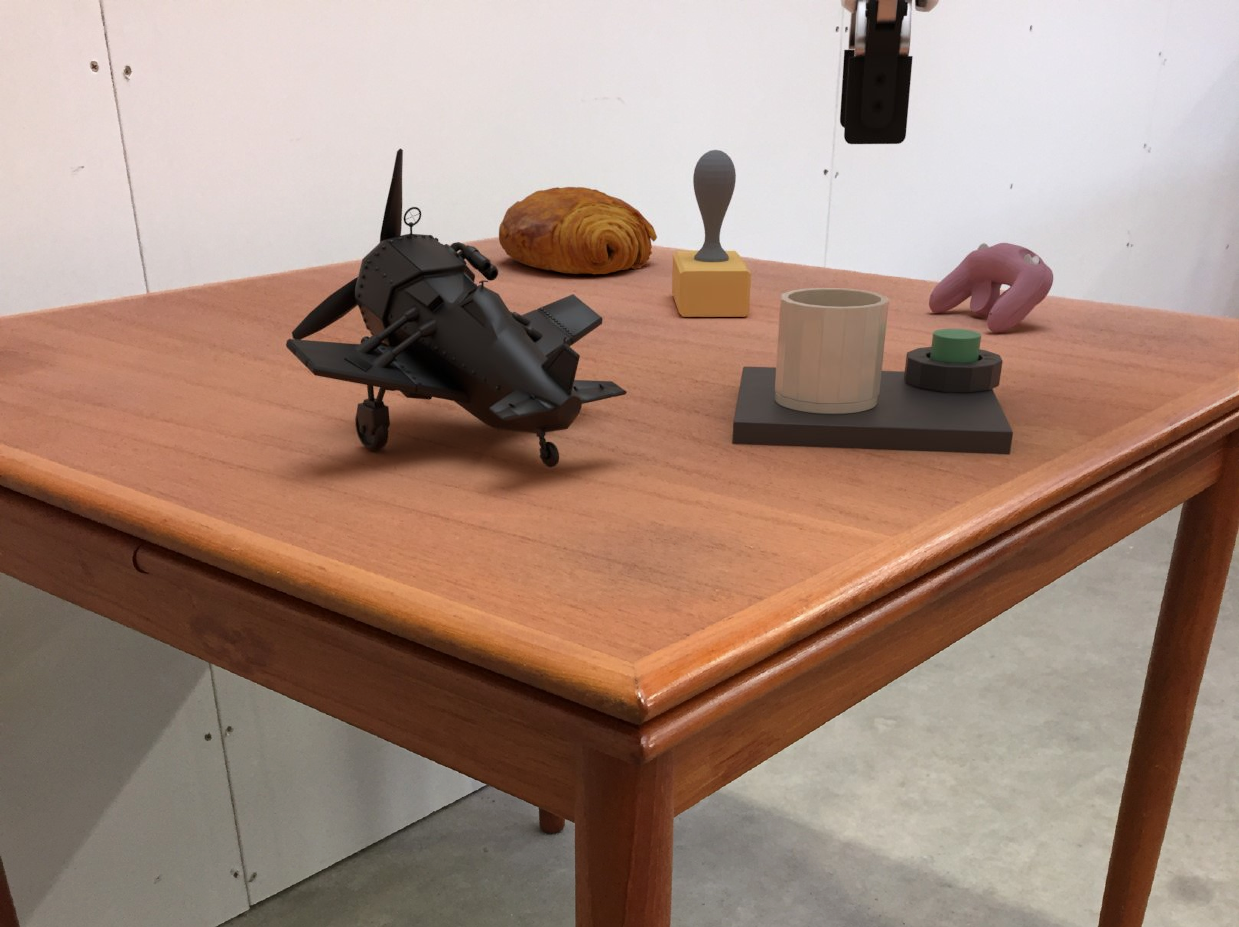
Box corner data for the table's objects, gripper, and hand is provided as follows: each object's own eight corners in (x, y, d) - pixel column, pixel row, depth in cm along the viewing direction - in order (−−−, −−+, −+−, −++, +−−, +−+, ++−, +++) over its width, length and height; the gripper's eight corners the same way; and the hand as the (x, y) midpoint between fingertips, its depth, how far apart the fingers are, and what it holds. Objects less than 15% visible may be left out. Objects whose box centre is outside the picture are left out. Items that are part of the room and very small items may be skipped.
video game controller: (1028, 351, 107) (1074, 265, 105) (988, 328, 105) (1035, 240, 102) (957, 327, 115) (999, 247, 113) (919, 305, 112) (961, 222, 110)
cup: (875, 389, 85) (885, 289, 81) (879, 416, 79) (891, 309, 76) (775, 386, 85) (781, 286, 82) (773, 412, 80) (779, 306, 77)
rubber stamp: (749, 317, 111) (757, 155, 104) (679, 317, 110) (683, 155, 104) (736, 295, 119) (743, 144, 113) (671, 295, 119) (675, 144, 113)
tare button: (974, 357, 87) (978, 329, 86) (979, 368, 84) (983, 339, 84) (927, 356, 87) (931, 327, 86) (931, 366, 85) (935, 337, 84)
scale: (989, 394, 89) (995, 347, 88) (1017, 456, 77) (1026, 403, 76) (742, 385, 91) (744, 339, 89) (732, 445, 79) (734, 393, 77)
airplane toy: (510, 386, 90) (500, 133, 82) (711, 448, 78) (722, 158, 70) (241, 441, 79) (199, 154, 71) (426, 523, 67) (401, 188, 59)
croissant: (547, 306, 125) (548, 215, 120) (479, 257, 135) (477, 171, 130) (680, 289, 131) (687, 201, 126) (605, 242, 141) (608, 160, 136)
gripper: (998, -288, 58) (953, 150, 67) (959, -233, 73) (926, 121, 82) (824, -281, 59) (802, 151, 68) (820, -228, 74) (803, 122, 83)
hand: (870, 134), depth 75 cm, fingers open, 9 cm apart
